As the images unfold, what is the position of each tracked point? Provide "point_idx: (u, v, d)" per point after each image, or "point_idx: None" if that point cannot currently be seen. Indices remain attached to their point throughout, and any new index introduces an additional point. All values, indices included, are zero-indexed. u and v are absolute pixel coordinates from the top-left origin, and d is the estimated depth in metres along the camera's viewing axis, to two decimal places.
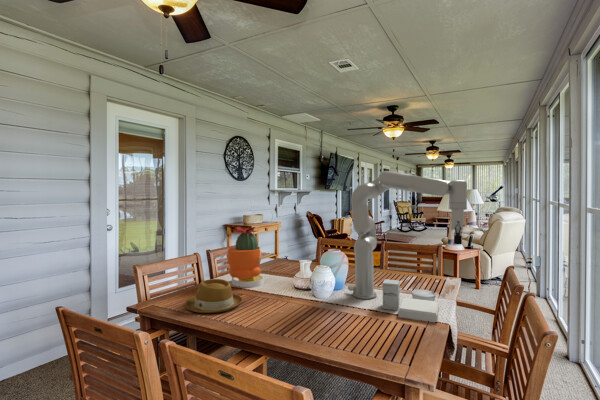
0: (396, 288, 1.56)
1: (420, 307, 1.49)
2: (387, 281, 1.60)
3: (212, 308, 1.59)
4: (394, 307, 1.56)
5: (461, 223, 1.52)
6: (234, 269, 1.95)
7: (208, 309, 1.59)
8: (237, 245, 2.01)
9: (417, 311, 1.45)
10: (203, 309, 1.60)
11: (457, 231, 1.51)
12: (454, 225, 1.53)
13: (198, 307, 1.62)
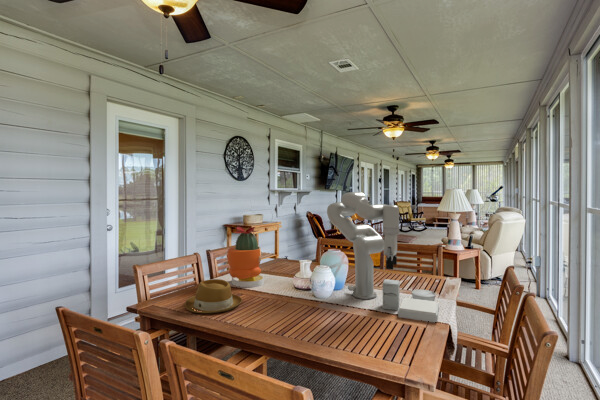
0: (396, 288, 1.56)
1: (420, 307, 1.49)
2: (387, 281, 1.60)
3: (211, 308, 1.59)
4: (394, 307, 1.56)
5: (392, 248, 1.54)
6: (234, 269, 1.95)
7: (207, 309, 1.59)
8: (237, 245, 2.01)
9: (417, 311, 1.45)
10: (202, 309, 1.59)
11: (388, 257, 1.52)
12: (386, 250, 1.55)
13: (197, 307, 1.61)
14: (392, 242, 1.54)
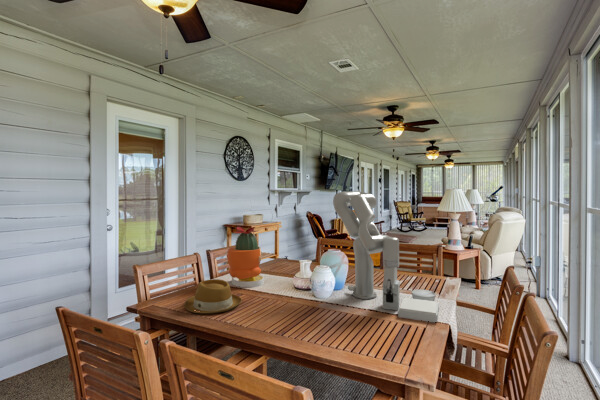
0: (396, 288, 1.56)
1: (420, 307, 1.49)
2: None
3: (211, 309, 1.58)
4: (394, 307, 1.56)
5: (392, 281, 1.55)
6: (234, 269, 1.95)
7: (207, 310, 1.58)
8: (237, 245, 2.01)
9: (417, 311, 1.45)
10: (202, 310, 1.59)
11: (388, 291, 1.54)
12: (386, 284, 1.56)
13: (197, 308, 1.61)
14: (392, 275, 1.55)
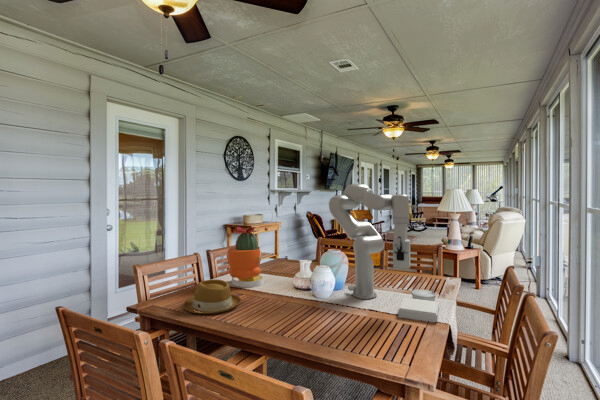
0: (407, 245, 1.51)
1: (420, 307, 1.49)
2: None
3: (211, 309, 1.58)
4: (405, 265, 1.52)
5: (402, 238, 1.51)
6: (234, 269, 1.95)
7: (206, 310, 1.58)
8: (237, 245, 2.01)
9: (417, 311, 1.45)
10: (201, 310, 1.59)
11: (398, 248, 1.50)
12: (396, 241, 1.52)
13: (196, 308, 1.61)
14: (402, 232, 1.51)
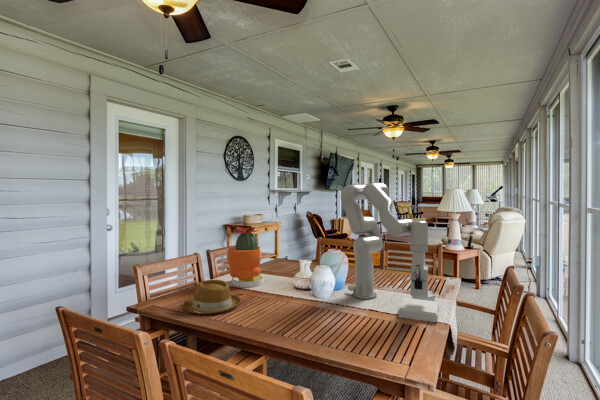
0: (425, 274, 1.47)
1: (420, 307, 1.49)
2: None
3: (210, 309, 1.58)
4: (423, 294, 1.48)
5: (421, 267, 1.46)
6: (234, 269, 1.95)
7: (206, 310, 1.58)
8: (237, 245, 2.01)
9: (417, 311, 1.45)
10: (201, 310, 1.58)
11: (417, 277, 1.45)
12: (414, 270, 1.47)
13: (196, 308, 1.60)
14: (421, 260, 1.46)
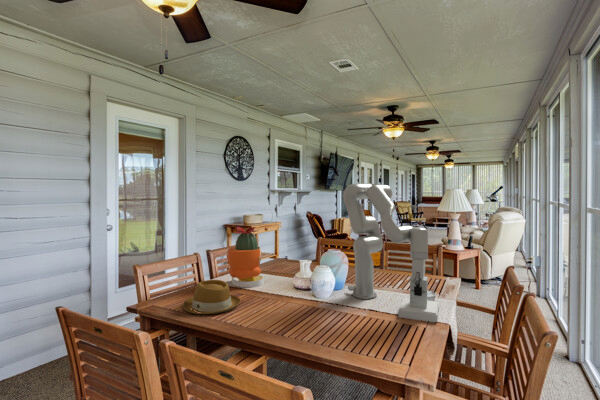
0: (425, 284, 1.47)
1: (420, 307, 1.49)
2: None
3: (210, 309, 1.57)
4: (422, 304, 1.48)
5: (421, 274, 1.46)
6: (234, 269, 1.95)
7: (206, 310, 1.58)
8: (237, 245, 2.01)
9: (417, 311, 1.45)
10: (201, 310, 1.58)
11: (416, 283, 1.45)
12: (414, 276, 1.47)
13: (196, 308, 1.60)
14: (421, 267, 1.46)
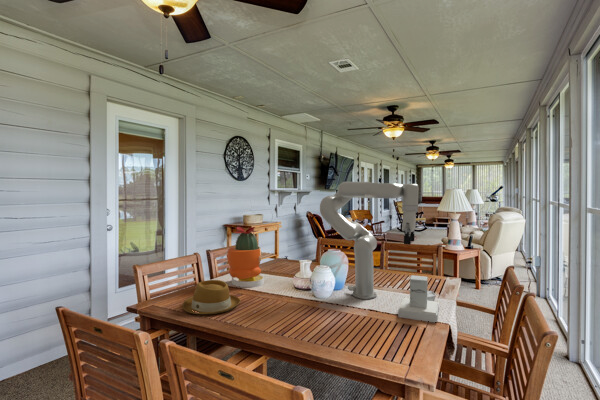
0: (425, 284, 1.47)
1: (420, 307, 1.49)
2: (414, 277, 1.51)
3: (209, 309, 1.57)
4: (422, 304, 1.48)
5: (410, 224, 1.61)
6: (234, 269, 1.95)
7: (205, 310, 1.57)
8: (237, 245, 2.01)
9: (417, 311, 1.45)
10: (200, 310, 1.58)
11: (406, 232, 1.60)
12: (404, 226, 1.63)
13: (195, 308, 1.60)
14: (410, 218, 1.61)
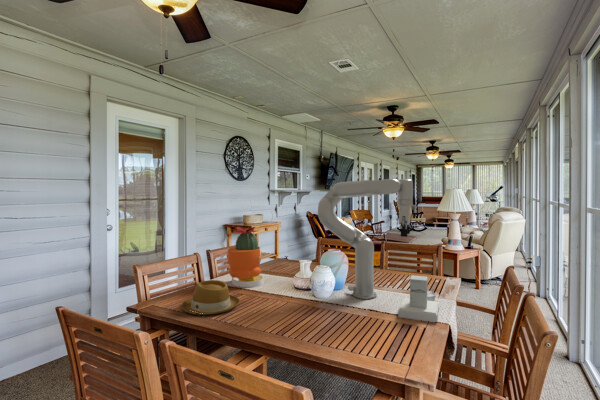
0: (425, 284, 1.47)
1: (420, 307, 1.49)
2: (414, 277, 1.51)
3: (209, 310, 1.57)
4: (422, 305, 1.48)
5: (407, 217, 1.70)
6: (234, 269, 1.95)
7: (205, 311, 1.57)
8: (237, 245, 2.01)
9: (417, 311, 1.45)
10: (200, 311, 1.58)
11: (402, 225, 1.68)
12: (401, 219, 1.71)
13: (195, 309, 1.60)
14: (406, 212, 1.70)
